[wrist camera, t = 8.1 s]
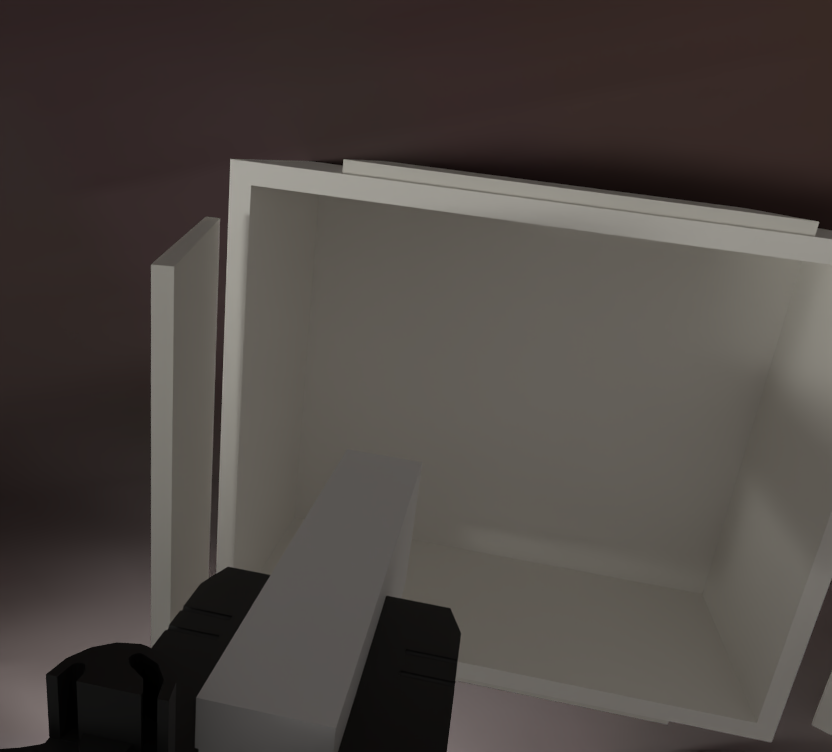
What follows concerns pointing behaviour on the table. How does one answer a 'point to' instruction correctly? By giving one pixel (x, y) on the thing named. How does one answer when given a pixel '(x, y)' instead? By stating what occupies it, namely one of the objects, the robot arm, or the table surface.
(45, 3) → the table surface
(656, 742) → the table surface
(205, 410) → the flap
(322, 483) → the carton
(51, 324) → the table surface
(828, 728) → the flap
